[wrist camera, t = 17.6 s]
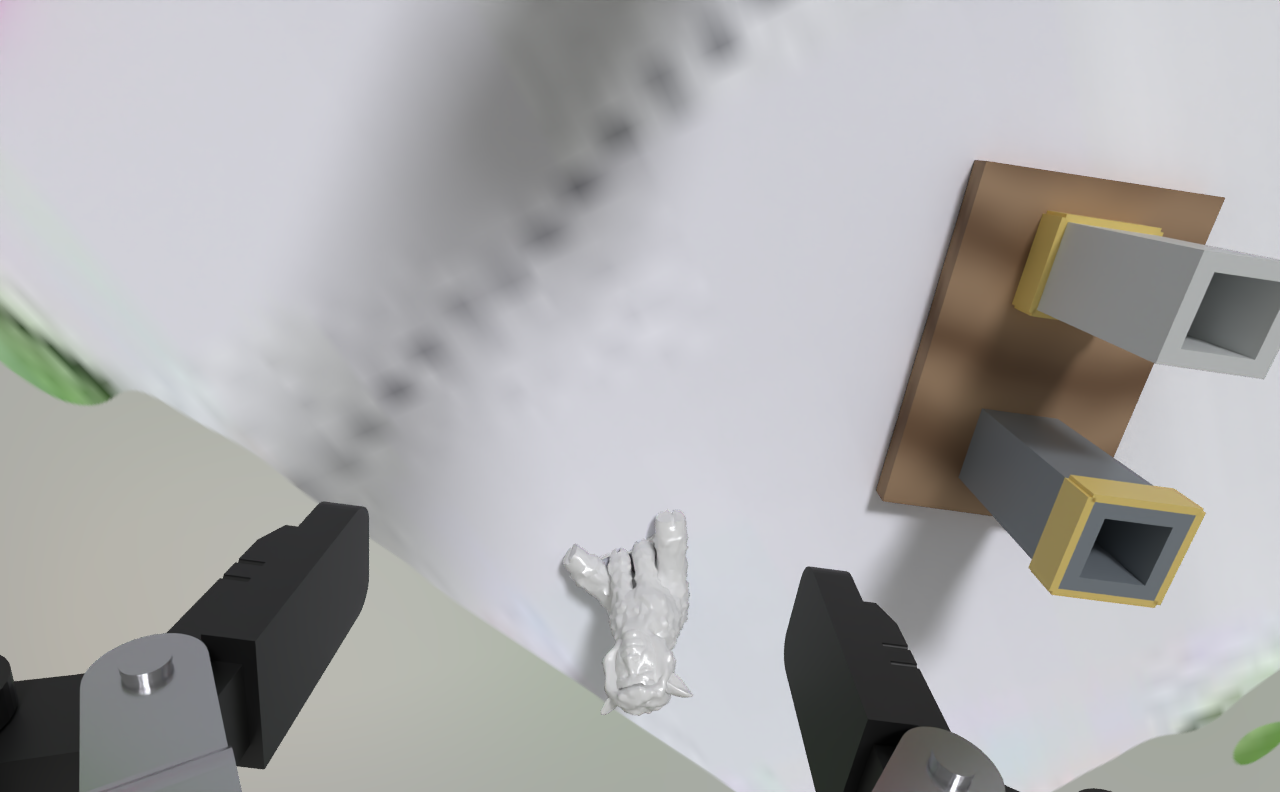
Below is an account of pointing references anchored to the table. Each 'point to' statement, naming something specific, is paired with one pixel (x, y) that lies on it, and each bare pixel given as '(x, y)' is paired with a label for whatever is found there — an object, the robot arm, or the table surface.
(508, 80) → the table surface
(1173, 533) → the sleeve
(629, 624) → the white creature statuette
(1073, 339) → the pin board
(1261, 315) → the seated sleeve
